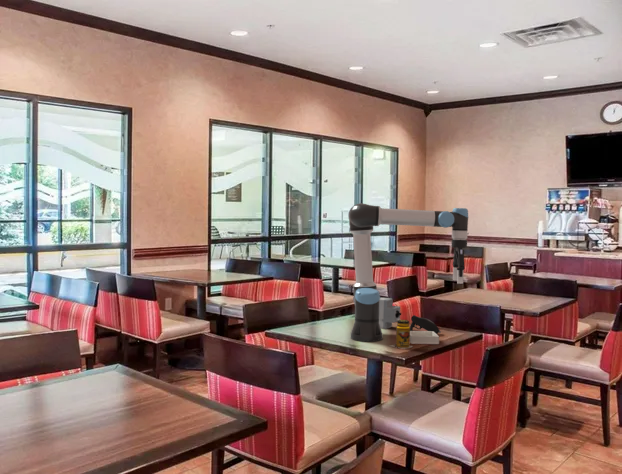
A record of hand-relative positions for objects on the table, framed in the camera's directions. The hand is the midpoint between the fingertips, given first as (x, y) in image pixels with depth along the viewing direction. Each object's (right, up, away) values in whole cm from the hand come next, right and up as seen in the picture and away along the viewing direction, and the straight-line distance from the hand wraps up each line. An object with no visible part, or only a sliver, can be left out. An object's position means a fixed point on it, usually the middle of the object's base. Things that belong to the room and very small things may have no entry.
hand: (457, 282), depth 292 cm
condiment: (-32, -27, -26) cm, 50 cm away
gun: (-16, -27, +3) cm, 31 cm away
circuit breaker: (-33, -26, +18) cm, 45 cm away
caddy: (-20, -27, -14) cm, 37 cm away
